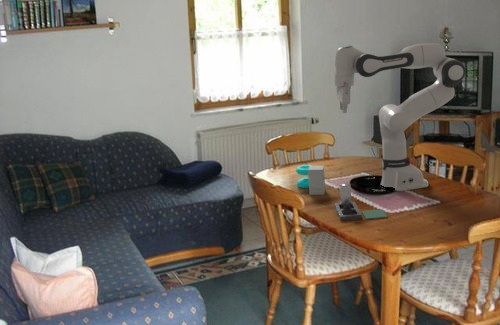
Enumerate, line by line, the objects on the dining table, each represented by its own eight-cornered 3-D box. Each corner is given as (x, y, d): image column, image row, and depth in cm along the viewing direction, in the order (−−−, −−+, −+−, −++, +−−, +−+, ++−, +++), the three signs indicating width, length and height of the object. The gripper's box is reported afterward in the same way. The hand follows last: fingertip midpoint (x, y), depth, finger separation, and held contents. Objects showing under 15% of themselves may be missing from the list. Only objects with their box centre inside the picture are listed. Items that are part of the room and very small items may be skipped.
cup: (350, 208, 264) (349, 182, 261) (352, 211, 260) (351, 185, 257) (340, 209, 264) (339, 183, 261) (342, 212, 260) (340, 186, 257)
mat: (382, 210, 258) (382, 209, 258) (387, 217, 249) (387, 216, 249) (361, 212, 258) (361, 211, 258) (365, 219, 249) (365, 218, 249)
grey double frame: (354, 205, 267) (354, 201, 266) (361, 219, 250) (361, 214, 250) (334, 207, 267) (334, 203, 266) (340, 221, 250) (340, 216, 250)
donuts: (291, 167, 300) (307, 163, 305) (293, 186, 303) (308, 181, 308) (303, 171, 292) (319, 166, 297) (305, 190, 295) (320, 185, 300)
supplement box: (324, 194, 285) (323, 169, 282) (309, 195, 287) (307, 170, 284) (325, 189, 292) (324, 165, 289) (310, 190, 294) (309, 165, 291)
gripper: (354, 84, 265) (353, 114, 268) (348, 79, 285) (347, 107, 288) (340, 84, 265) (339, 114, 269) (334, 79, 285) (334, 107, 288)
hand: (343, 111), depth 279 cm, fingers open, 8 cm apart
